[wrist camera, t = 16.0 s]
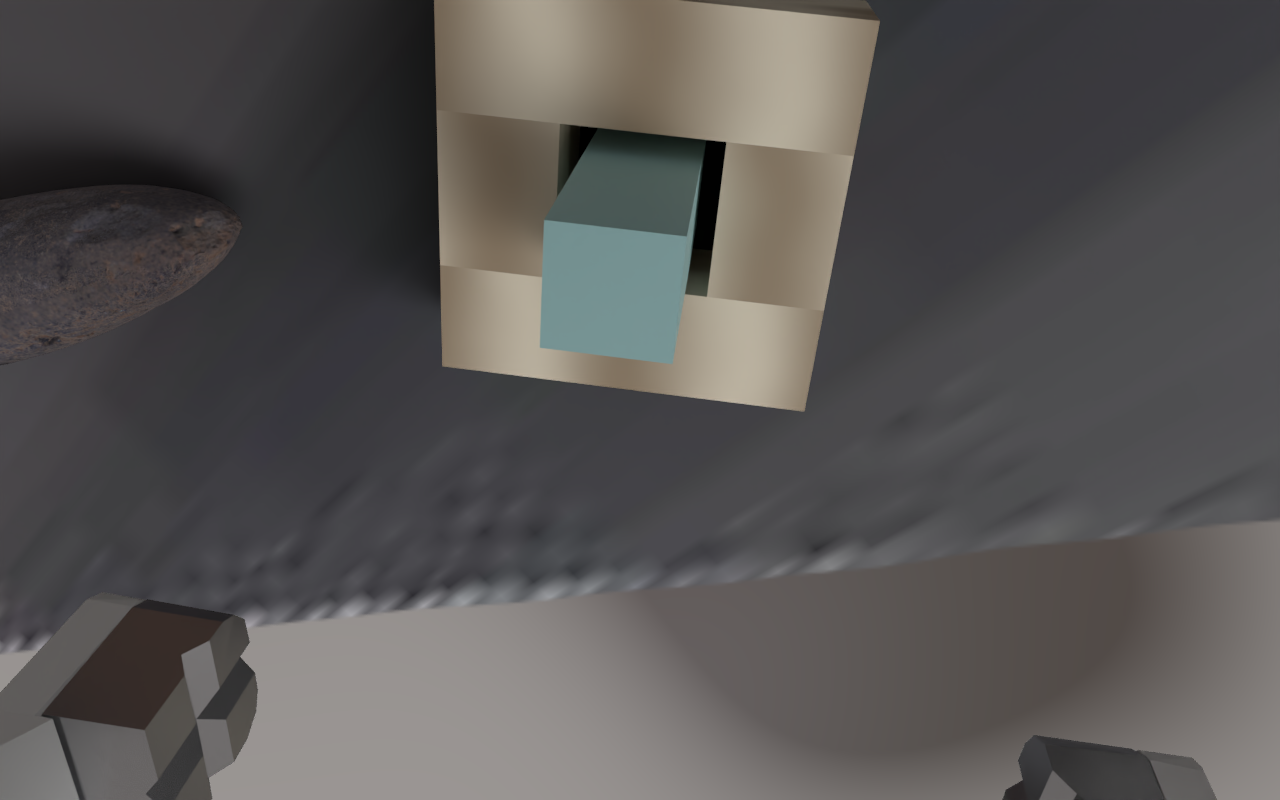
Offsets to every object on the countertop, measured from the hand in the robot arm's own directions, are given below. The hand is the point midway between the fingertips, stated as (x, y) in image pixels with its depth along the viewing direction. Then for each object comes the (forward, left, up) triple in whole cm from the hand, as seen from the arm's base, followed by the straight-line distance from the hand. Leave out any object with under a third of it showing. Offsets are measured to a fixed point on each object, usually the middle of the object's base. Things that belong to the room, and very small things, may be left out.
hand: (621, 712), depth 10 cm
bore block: (+2, +2, -25) cm, 25 cm away
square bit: (+2, +2, -25) cm, 25 cm away
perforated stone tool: (+22, +7, -25) cm, 34 cm away
